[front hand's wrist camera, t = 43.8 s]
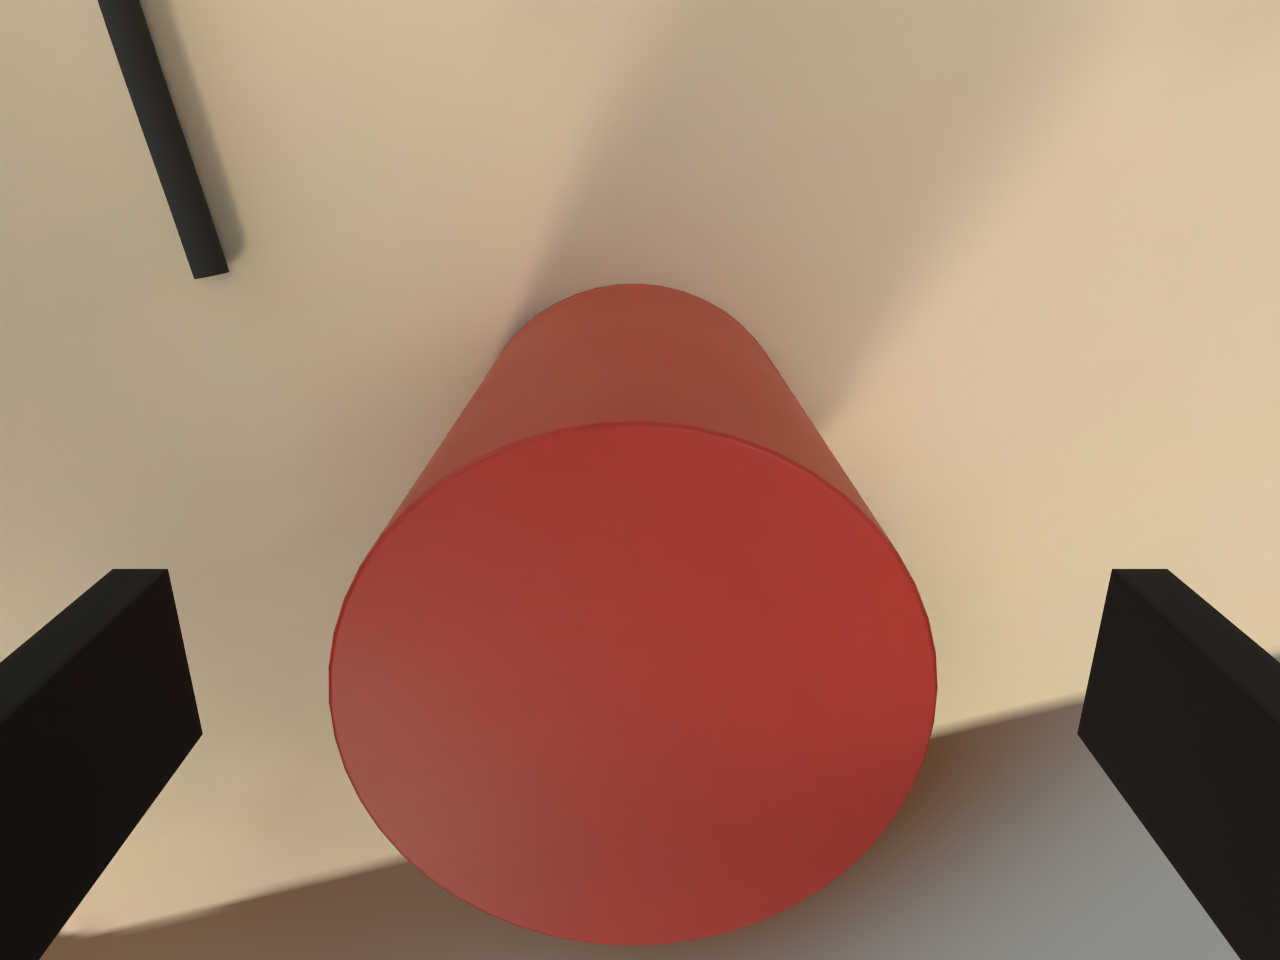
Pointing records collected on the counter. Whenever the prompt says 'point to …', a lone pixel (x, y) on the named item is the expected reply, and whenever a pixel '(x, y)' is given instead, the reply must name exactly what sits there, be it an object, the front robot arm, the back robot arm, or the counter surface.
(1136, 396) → the counter surface
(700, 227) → the counter surface
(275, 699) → the counter surface
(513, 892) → the can
